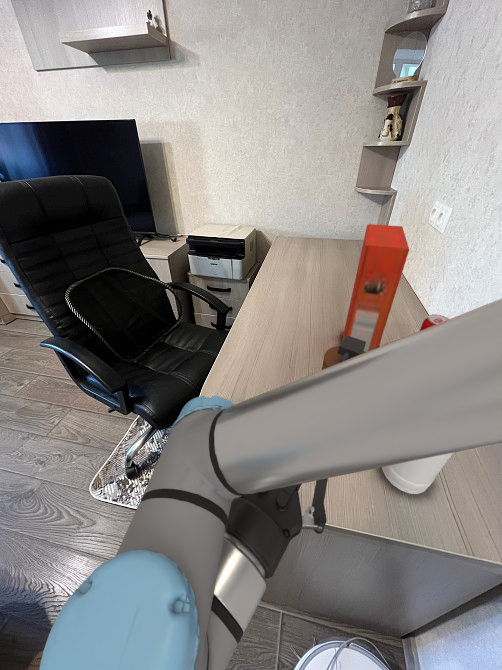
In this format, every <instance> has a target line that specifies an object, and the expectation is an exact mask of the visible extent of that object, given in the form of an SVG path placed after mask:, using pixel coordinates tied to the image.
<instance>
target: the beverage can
mask: <svg viewBox="0 0 502 670" xmlns="http://www.w3.org/2000/svg"><path fill="white" fill-rule="evenodd" d="M449 319H450V318H449V317H446V316H444V315H441V314H437V313H435V314H434V313H433V314H432V313H431V314H429V315H428V316H427V317H426V318H425V319H424V320H423V321H422V324H421V326H420V328H419V331H421V330H423V329H426V328H428V327H431V326H434V325H436V324H439V323H441V322H444V321H446V320H449Z"/></svg>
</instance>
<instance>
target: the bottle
mask: <svg viewBox="0 0 502 670" xmlns="http://www.w3.org/2000/svg"><path fill="white" fill-rule="evenodd" d="M453 454H454V453H449V454H444V455H439V456H434V457H429V458H424V459H419V460H414V461H409V462H405V463H400V464H395V465H390V466H385V467H381V470H382V473H383V474H384V476H385V478H386V479H387V480H388V482H389V483H390V484H391V485H392V486H393V487H395V488H396V489H398V490H400V491H402V492H404V493H407V494H411V495H419V494H421V493H425V492H426V490H427V489H429V487H430V486H431V485H432V484H433V483H434V482H435V479H436V478H437V476H438V475H439V473H440V472H441V471H442V470H443V467H444V466H445V465H446V463H448V461H449V460H450V458H451V457H452V455H453Z"/></svg>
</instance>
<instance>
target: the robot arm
mask: <svg viewBox="0 0 502 670" xmlns="http://www.w3.org/2000/svg"><path fill="white" fill-rule="evenodd" d="M448 319H449V320H446V321H444V322H441V323H439V324H436V325H434V326H431V327H428V328H426V329H423V330H421V331H420V330H419V331H416V332H413V333H411V334H409V335H408V334H407V335H406V336H404V337H401V338H398V339H396V340H393V341H391V342H388V343H386V344H384V345H381V346H379V347H378V348H376V349H373V350H371V351H368V352H366V353H363V354H361V355H358V356H356V357H353V358H351V359H348V360H346V361H343V362H341V363H338V364H336V365H333V366H331V367H328V368H326V369H323V370H321V369H320V370H318V371H316V372H313V373H310V374H308V375H306V376H304V377H300V378H297V379H295V380H293V381H291V382H288V383H285V384H283V385H281V386H278V387H275V388H273V389H271V390H268V391H265V392H263V393H260V394H258V395H255V396H253V397H250V398H247V399H245V400H242V401H240V402H237V403H236V404H235V403H234V402H233V401H231V400H230V399H227V398H225V397H221V396H218V395H212V396H211V397H207V396H204V395H200V396H197V397H194V398H192V399H190V400H189V401H188V402H186V404H185V405H184V406H183V407H182V409H181V411H180V412H179V415H178V417H177V419H176V420H175V421H174V422H173V424H172V426H171V427H170V429H169V431H168V434H167V438H166V441H165V444H164V446H163V448H162V451H161V453H160V455H159V458H158V460H157V462H156V465H155V467H154V469H153V472H152V473H151V476H150V478H149V480H148V483H147V485H146V487H145V490H144V492H143V494H142V497H141V499H140V501H139V503H138V505H137V507H136V510H135V512H134V514H133V516H132V519H131V521H130V523H129V525H128V527H127V529H126V532H125V534H124V537H123V538H122V541H121V543H120V545H119V548H118V550H117V551H116V554H115V556H113V557H110V558H109V559H108V560H106V561H104V562H103V563H102V564H100V565H98V566H97V567H96V568H95V569H94V570H93V571H92V572H91V574H90V575H88V577H87V578H86V579H84V580H83V581H82V583H80V585H79V586H78V587H77V588H76V589H75V590H74V591H73V592H72V594H71V595H69V597H68V598H67V600H66V601H65V603H64V605H63V606H62V608H61V610H60V611H59V613H58V615H57V616H56V619H55V620H54V622H53V625H52V627H51V629H50V632H49V633H48V635H47V636H48V637H47V639H46V642H45V645H44V649H43V651H42V655H41V660H40V664H39V670H226V669H227V667H228V665H229V663H230V660H231V659H232V657H233V655H234V652H235V650H236V648H237V646H238V644H239V643H240V642H241V640H242V638H243V636H244V634H245V632H246V630H247V628H248V626H249V624H250V622H251V620H252V618H253V616H254V614H255V612H256V610H257V608H258V606H259V605H260V602H261V600H262V598H263V596H264V594H265V592H266V590H267V581H266V579H270V578H272V577H274V575H275V573H276V570H277V569H278V566H279V564H280V563H281V560H282V559H283V556H284V554H285V552H286V551H287V549H288V547H289V545H290V543H291V541H292V540H293V539H294V538H295V537H297V536H299V534H300V533H301V531H302V530H310V531H311V530H313V531H314V533H316V534H318V535H322V534H323V532H324V530H325V528H326V524H327V521H328V520H327V512H326V508H325V498H326V494H327V488H328V487H327V486H328V480H329V479H330V478H337V477H340V476H346V475H351V474H355V473H359V472H360V473H361V472H366V471H369V470H374V469H375V470H376V469H379V468H382V467H385V466H390V465H395V464H400V463H405V462H409V461H414V460H419V459H424V458H429V457H434V456H439V455H444V454H449V453H453V454H454V453H457V452H463V451H468V450H472V449H477V448H483V447H487V446H493V445H497V444H502V297H501V298H499V299H496V300H494V301H491V302H489V303H486V304H484V305H481V306H479V307H477V308H473V309H471V310H469V311H466V312H464V313H461V314H459V315H456V316H454V317H451V318H448ZM315 481H316V482H315ZM311 482H315V486H314V487H315V488H314V491H313V496H312V502H311V505H310V506H308V507H307V508H306V511H305V514H302V513H303V512H302V508H301V501H300V493H299V491H300V488H301V487H302V485H303V484H307V483H311Z"/></svg>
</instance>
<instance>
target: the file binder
mask: <svg viewBox="0 0 502 670" xmlns="http://www.w3.org/2000/svg"><path fill="white" fill-rule="evenodd" d="M409 252H410V247H409V244H408V240H407V238H406V235H405V230H404V227H403V226H402V225H390V224H376V223H375V224H373V223H369V224H368V223H367V224H366V229H365V233H364V236H363V242H362V247H361V252H360V256H359V261H358V264H357V270H356V274H355V279H354V284H353V288H352V293H351V297H350V301H349V306H348V311H347V315H346V321H345V325H344V329H343V335H342V340H341V342H342V341H343V340H344V339H345V337H346V336H347V335H348V336H351V337H354V338H356V339H359V340H362V341H365V342H366V344H365V348H364V350H363V351H365V352H368V351H371V350H373V349H376V348H378V347H380V344H381V341H382V337H383V335H384V331H385V328H386V325H387V322H388V319H389V315H390V313H391V309H392V306H393V303H394V300H395V297H396V293H397V291H398V287H399V284H400V281H401V277H402V276H403V275H402V274H403V271H404V268H405V265H406V262H407V260H408V259H407V258H408V256H409Z"/></svg>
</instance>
